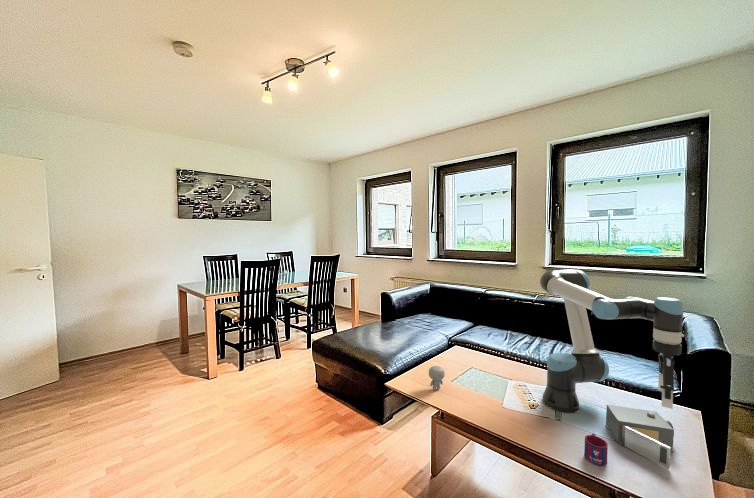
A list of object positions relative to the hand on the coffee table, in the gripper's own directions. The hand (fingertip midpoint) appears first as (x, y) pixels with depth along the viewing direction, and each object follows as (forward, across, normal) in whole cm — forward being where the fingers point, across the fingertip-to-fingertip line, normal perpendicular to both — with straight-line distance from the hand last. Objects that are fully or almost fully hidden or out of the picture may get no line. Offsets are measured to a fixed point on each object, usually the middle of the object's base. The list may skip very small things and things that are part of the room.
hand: (664, 398), depth 112 cm
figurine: (+21, -8, +88) cm, 91 cm away
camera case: (+21, +7, +6) cm, 23 cm away
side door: (+21, -5, +5) cm, 22 cm away
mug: (+22, -16, +19) cm, 33 cm away
